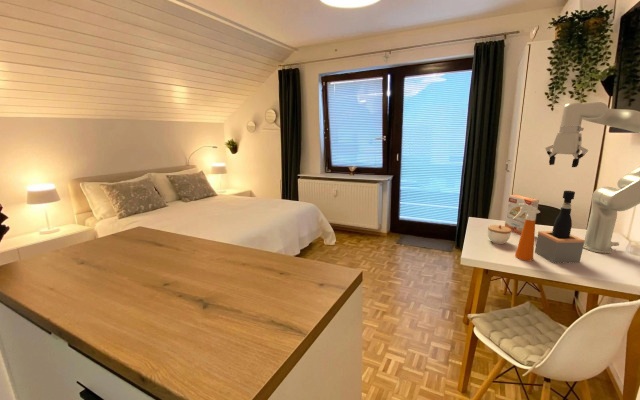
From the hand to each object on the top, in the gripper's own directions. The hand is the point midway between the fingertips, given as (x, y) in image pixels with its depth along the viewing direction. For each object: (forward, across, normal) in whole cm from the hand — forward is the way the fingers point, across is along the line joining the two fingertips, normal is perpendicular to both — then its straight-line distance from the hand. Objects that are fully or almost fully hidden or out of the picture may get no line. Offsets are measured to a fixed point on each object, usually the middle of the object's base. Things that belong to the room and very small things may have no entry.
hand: (562, 165), depth 146 cm
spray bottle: (+42, -3, +29) cm, 51 cm away
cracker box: (+42, +18, -5) cm, 46 cm away
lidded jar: (+42, +14, +20) cm, 48 cm away
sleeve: (+41, -11, +14) cm, 45 cm away
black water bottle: (+40, -11, +14) cm, 43 cm away
